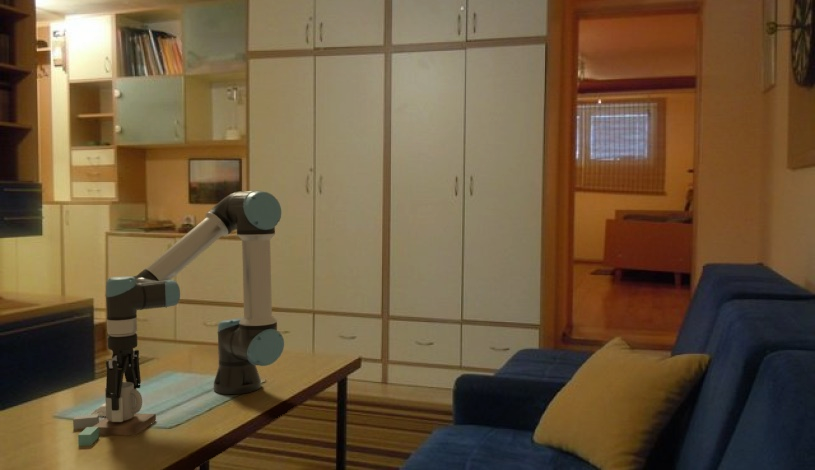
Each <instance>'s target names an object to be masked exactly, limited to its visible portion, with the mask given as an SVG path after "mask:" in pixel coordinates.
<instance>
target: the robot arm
mask: <svg viewBox="0 0 815 470" xmlns="http://www.w3.org/2000/svg"><path fill="white" fill-rule="evenodd" d="M204 214H205V217H204V218H203V220H201V221H200V222H199V223H198V224H196V226H195V227H193V228H192V229H190V230H189V231H188V232H187V233H186V234H185V235H184V236H182V237H181V238H180V239H179V240H177V242H175V243H174V244H173V245H171V246H170V247H169V248H168V249H167V250H166V251H164V252H163V253H162V254H161V255H160V256H159V257H157V259H154V261H152V262H151V263H150V264H149V265H148V266H147V267H146V268H144V269H143V270H142V271H140V272H139V273H138V274H137V275H132V276H130V275H129V276H127V275H125V276H113V277H110V278H109V277H108V279H107V281H106V282H105V283H106V284H105V295H104V296H105V304H106V323H105V324H106V326H107V327H106V328H107V330H106V331H107V334H108V335H107V337H106V339H107V340H106V341H107V349H108V350H110V351H112V356H111V359H110V360H109V359H108V360H105V366H106V382H105V384H106V385H105V386H106V398H111V408H112V422H122V421H123V404H122V397H120V395H121V389H122V382H124V381H123V380H124V378H125V382H132V383H133V384H134V389H135V390H137V389H140V388H141V382H142V380H141V369H140V359H139V357H140V350H138V349H135V348H137V347H138V334H137V332H138V318H137V317H138V315H137V314H138V313H137V311H143V310H150V309H160V308H168V307H174V306H177V305H178V304H179V302H180V298H181V289H180V286H179V284H178V282H177V281H176V280H172V279H174V278H175V277H176V276H177V275H178V274H179V273H181V272H182V271H183V270H184V269H185V268H187V266H189V265H190V264H191V263H192V262H193V261H195V260H196V259H197V258H198V257H199V256H200V255H201V254H203V253H204V252H205V251H206V250H207V249H208V248H210V247H211V246H212V245H214V243H215V242H217V241H218V240H219V239H221V237H227V236H228V235H229V234H231V233H232V232H233V231H236V236H237V237H238V238H239V239H240V240H241V247H242V249H241V251H242V253H241V254H242V255H241V257H242V290H243V294H242V295H243V296H242V297H243V298H242V299H243V317H238V318H231V319H225V320H221V321H220V322H219V323H218V324H217V345H218V347H217V349H218V353H217V354H218V368H217V371H216V375H215V378H214V380H213V391H214V392H216V393H218V394H222V395H242V394H248V393H252V392H256V391H257V390H259V389H261V387H262V381H261V377H260V375H259V372H258V368H257V366H261V367H266V366H270V365H272V364H274V363H275V362H276V361H278V359H279V358H280V357H281V355H282V354H283V351H284V349H285V340H284V337H283V335H282V334H281V333H280V331H278V319H276V317H274V316H273V314H272V313H273V309H272V308H273V307H272V306H273V304H272V269H271V268H272V267H271V266H272V265H271V263H272V262H271V239H272V238H273V237H274V236H275V235H276V226H277V225H278V223H279V222H280V221H281V218H282V207H281V204H280V202H279V200H278V199H277V198H276V196H274V195H273V194H272V193H270V192H268V191H262V190H246V191H245V190H244V191H243V190H241V191H240V190H239V191H235V192H233V193H230V194H229V195H227V196H225V197H223V199H221V200H220V201H219V202H218V203H216V204H215V205H214V206H213V207H212V208H210V209H209V210H208V211H207V212H206V213H204ZM134 407H136V398H135V396H134Z"/></svg>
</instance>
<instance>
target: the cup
mask: <svg viewBox="0 0 815 470" xmlns="http://www.w3.org/2000/svg"><path fill="white" fill-rule="evenodd" d="M104 393H105V394H104V397H105V403H106V417H105V419H106V418H107V420H109V421H112V408H111V398H106V385H105V387H104ZM134 396H135V398H136V407H134ZM120 397H122V404H123V421H124V420H128V419H131V418H132V417H133V416H134V415H135V413H138V414H139V412H140V411H141V409H142V407H143V397H142V394H141V392H140V391H139V390H135V389H134V384H133V383H132V382H126V381H123V382H122V389H121V395H120Z"/></svg>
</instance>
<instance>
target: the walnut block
mask: <svg viewBox="0 0 815 470" xmlns="http://www.w3.org/2000/svg"><path fill="white" fill-rule="evenodd" d="M156 417H157V415H156V413H139V412H138V413H135V415H134V416H133V417H132V418H131V419H128V420H124V421H122V422H112V421H109V420H107V418H106V417H105V418H104V419H103V420H101V421H99V423H98V424H96V425H94V426H93V427H99V436H101V435H103V436H131V437H132V436H133V437H134V436H137V435H138V434H140V433H142V431H144V430H145V429H147V428H148V427H150V426H151V425H152V424H154V423H155V422H156V421H155V420H157V419H156ZM154 421H155V422H154ZM153 422H154V423H153ZM151 423H152V424H151ZM150 424H151V425H150Z"/></svg>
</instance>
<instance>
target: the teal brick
mask: <svg viewBox="0 0 815 470" xmlns="http://www.w3.org/2000/svg"><path fill="white" fill-rule="evenodd" d="M77 435H78V436H77V440H78V442H77V443H78V447H86V446H92V445H93V444H94V443H95V442H96V441H97V440H98V439H99V437H100V435H99V427H86V428H85V429H82V431H80V432H79V434H77Z"/></svg>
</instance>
